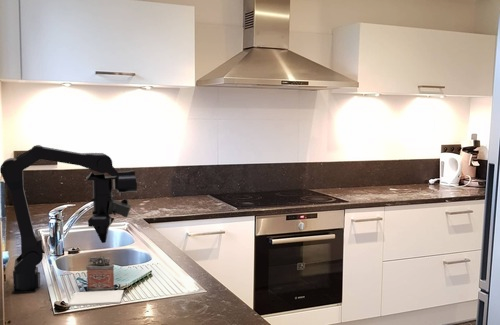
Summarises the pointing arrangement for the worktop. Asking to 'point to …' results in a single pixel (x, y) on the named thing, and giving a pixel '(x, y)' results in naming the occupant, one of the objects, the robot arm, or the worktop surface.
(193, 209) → the worktop surface
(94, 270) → the lighter
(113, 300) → the mat
